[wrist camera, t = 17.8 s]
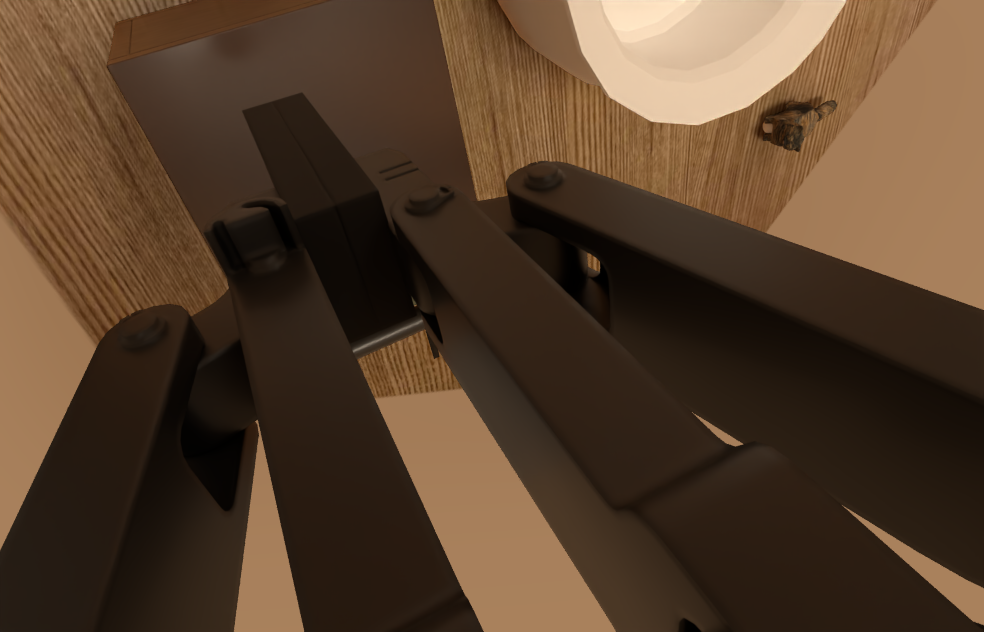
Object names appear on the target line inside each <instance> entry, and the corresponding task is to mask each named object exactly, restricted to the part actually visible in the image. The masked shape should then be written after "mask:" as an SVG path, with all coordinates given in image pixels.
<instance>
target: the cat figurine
mask: <svg viewBox="0 0 984 632" xmlns="http://www.w3.org/2000/svg"><path fill="white" fill-rule="evenodd" d="M836 106H837V104H836V102H835V101H833V100H832V101H827V102H825V103H823V104H822V105H820V106H818V107H817V108H815V109H814V108H813V106H812V105H811V104H810V103H808V102H805V103H801V102H789V103H787V104H786V110H785V111H784V112H781V113H778V114H775V115H769V116H767V117H766V118H765V121H764V123H763V130H764V132H766V134H764V136H763V141H770V142H771V143H772V144H775V145H777V146H783V147H784V149H787V150H789V151H790V150H795V151H797V152H799V151H800V147H801V144H802V142H803V140H804V138H805V137H807V136H808V135H810V133H811V132H812V130H813V128H814V126H815V124H816V122H818V121H820V120H822V119H823V118H825V117H826V116H827V115H829V114H830V113H831V112H833V111H834V110H835V108H836Z"/></svg>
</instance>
